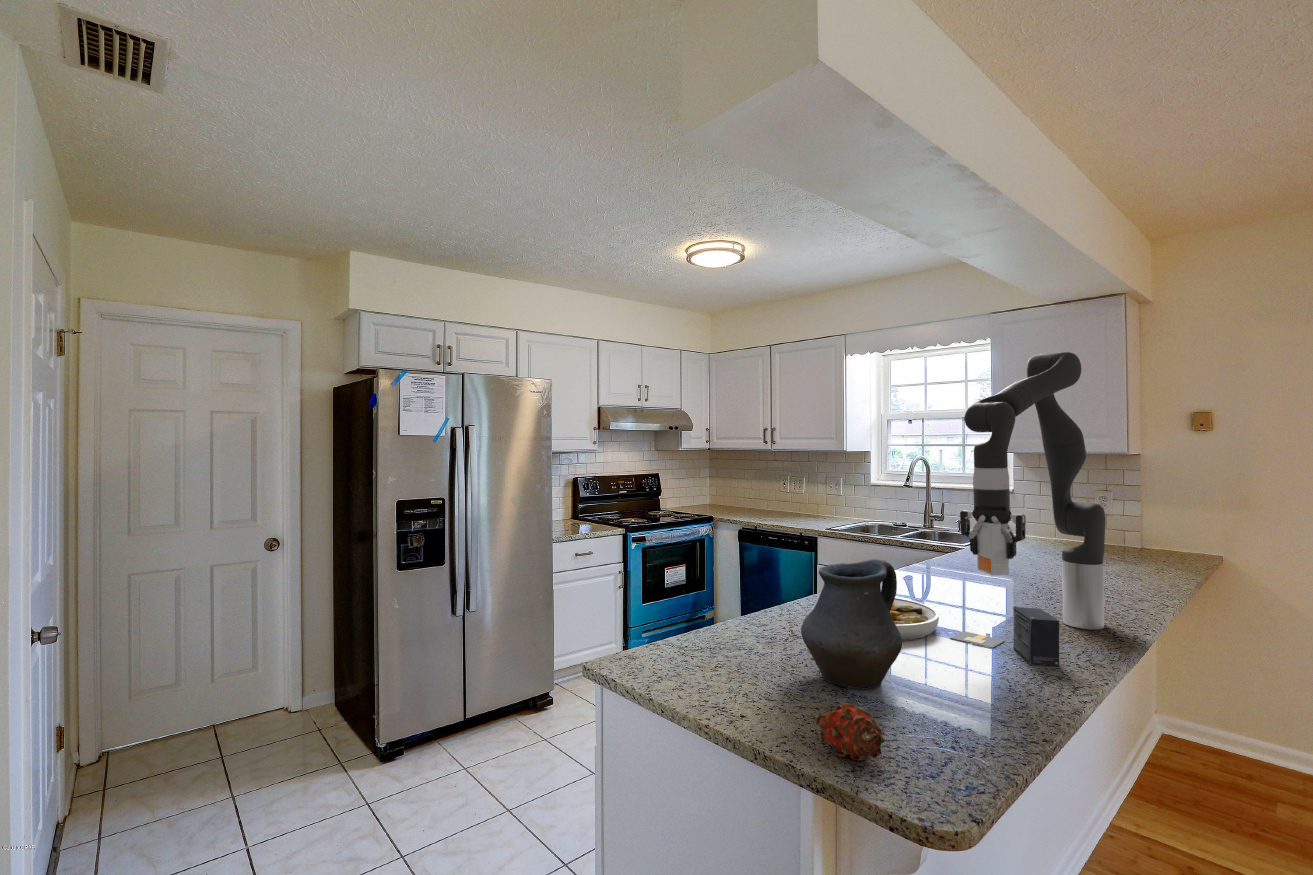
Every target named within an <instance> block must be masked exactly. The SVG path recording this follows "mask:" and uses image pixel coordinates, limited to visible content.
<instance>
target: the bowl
mask: <svg viewBox="0 0 1313 875" xmlns="http://www.w3.org/2000/svg"><path fill="white" fill-rule="evenodd" d="M890 615H891V617H892V619H893V621H894V623H895V625H896V627H897V628H898V630H899V632H900V634H901V637H902V641H910V640H917V639H921V638H924V637H926V636H928V635H931V634H932V633H933V632H934V631H935V630H936V628H937V627H938V624H939V620H940V617H939V612H938V611H937V610H936V609H934V608H933V607H931V606H930V605H927V604H924V603H921V602H919V601H914V600H911V599H904V598H900V597H895V599H894V602H893V604H892V607H891V610H890Z"/></svg>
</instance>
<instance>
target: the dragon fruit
mask: <svg viewBox="0 0 1313 875" xmlns="http://www.w3.org/2000/svg"><path fill="white" fill-rule="evenodd" d="M815 719H816V720H815V721H816V724H817V725H818V727H819V729H821V730H822V731H821V732H817V737H818V740H819V743H820V744H823V743H824V744H828V745H834V746H835V750H834V753H835V755H836V756H837V757H838V758H845V757H847V756H848V755H849V757H850V759H852V760H854V761H858V762H859V761H860V760H861V761H862V760H864V759H865V760H866V758H867V757H870V758H874V759H875V758H878V757H879V756H881V755H882V748H881V747H882V744H883V743H885V742H886V739H885V738H884V736H883V734H882V733H883V731H882V728H881V726H880V725H879V724H878V722H877V721H876V720H875V719H874V718H872V716H871V714H870V713H869V712H868V711H866V710H865V708H863V707H861V706H855V705H854V704H852V703H844V702H843V703H841V704H840V705H837V708H835V710H833V711H827V712H825V713H821V714H819V715H818V716H817V717H816V718H815ZM865 760H864V761H865ZM862 762H863V761H862Z"/></svg>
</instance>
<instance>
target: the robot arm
mask: <svg viewBox="0 0 1313 875" xmlns="http://www.w3.org/2000/svg"><path fill="white" fill-rule="evenodd" d="M1081 375H1082V363H1081V360H1080V358H1079V357H1078V355H1077V354H1076V353H1073V352H1070V351H1060V352H1051V353H1041V354H1040V353H1039V354H1034V355H1032V356H1031V357H1030V358H1029V359H1028V360H1027V364H1026V378H1023V379H1020V380H1017V381H1015V382H1013V383H1012V384H1010V385H1008V386H1007V387H1005V388H1003V389H1002V390H1001V391H999V392H998V393H996V394H994V395H990V396H988V397H985V398H982V399H979V400H978V401H975V402H974V403H972V404H971V405H970V406H969V407H968V408H967V409H966V411H965V413H964V420H963V421H964V423H965V425H966V427H967V429H969V430H970V431H972V432H974V433H991V436H990V438H989V439H988V441H984V442H980V443H977V444H975V446H974V447H973V476H972V486H973V488H972V489H973V492H972V493H973V509H972V510H968V509H965V510H960V512H959V516H960V517H959V518H960V522H959V523H960V533H961V535H962V536H966V537H967V538H969V550H970V552H971V553H972V555H974V556H977V533H978V532H979V530H980V528H981V526H982V524H983V523H984V522H986V523H994V524H1000V525H1001V534H1002V535H1004V537H1005V538H1006V540H1007V541H1008V543H1007V559H1009V560H1013V559H1014V557H1016V556H1017V543H1018V542H1022V541H1024V540H1026V515H1025V514H1024V513H1022V514H1014V513H1012V512H1011V499H1010V496H1011V494H1010V475H1009V469H1008V468H1009V465H1008V449H1009V445H1010V442H1011V437H1012V434H1013V431H1014V427H1015V423H1016V417H1018V416H1019V415H1021V414H1022V413H1024V412H1025V411H1026V410H1028V409H1029V408H1030V407H1032V406H1033V405H1035V409H1036V414H1037V419H1038V422H1039V423H1038V424H1039V428H1040V434H1041V440H1042V447H1043V452H1044V457H1045V461H1046V466H1047V469H1048V470H1047V471H1048V475H1049V476H1048V477H1049V481H1050V488H1051V489H1050V490H1051V502H1052V513H1053V519H1054V520H1053V521H1054V524H1055V527H1056V530H1057V531H1058V532H1059V533H1060V534H1062V535H1067V536H1075V537H1084V538H1083V542H1082V544H1080V545H1077V546H1073V547H1068V548H1064V549H1063V550H1062V551H1061V568H1062V570H1061V572H1062V573H1061V574H1062V576H1061V577H1062V580H1061V582H1062V584H1061V585H1062V589H1061V590H1062V624H1064V625H1067V626H1070V627H1073V628H1078V629H1083V630H1103V629H1105V598H1104V596H1105V595H1104V592H1105V591H1104V590H1105V588H1104V584H1105V583H1104V577H1105V576H1104V555H1105V547H1106V546H1105V543H1106V540H1105V538H1106V536H1105V535H1106V514H1105V510H1104V509H1105V508H1103V506H1102V505H1101V504H1099V503H1092V502H1081V501H1080V502H1078V501H1073V500H1072V494H1071V493H1072V492H1071V490H1072V489H1071V488H1072V485H1073V483H1074V480H1075V479H1076V477H1077V476H1078V474H1079V473H1080V471H1081V469H1082V467H1083V466H1084V464H1085V462H1086V459H1087V451H1086V449H1087V448H1086V445H1085V438H1084V433H1083V431H1082V430H1081V428H1080V427H1079V426H1078V424H1077V423H1076V422H1075V421H1074V420H1073V419H1072V418H1071V417H1070V416H1069V415H1068V413H1067V412H1065V410H1063V408H1062V407H1061V406H1060V405H1059V403H1058V400H1057V399H1056V396H1055V393H1058V392H1059V391H1062V390H1064V389H1067V388H1070V387H1072V386H1074V385H1075V384H1077V382H1078V381H1079V380H1080V377H1081ZM972 518H974V519H975V521H976V523H975V524H974V526H973V527H972V530H971V520H972ZM1011 520H1012V522H1013V524H1015V533H1014V532H1013V529H1012V528H1011V526H1010V524H1009V522H1010V521H1011ZM1002 524H1008V529H1005V527H1004V526H1003V525H1002ZM977 526H978V527H977Z"/></svg>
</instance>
